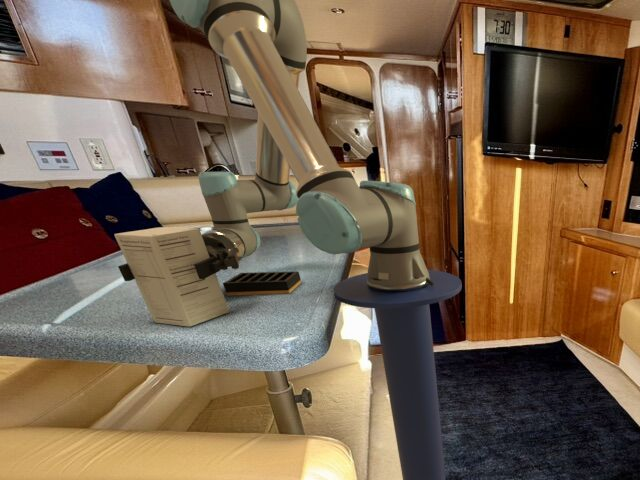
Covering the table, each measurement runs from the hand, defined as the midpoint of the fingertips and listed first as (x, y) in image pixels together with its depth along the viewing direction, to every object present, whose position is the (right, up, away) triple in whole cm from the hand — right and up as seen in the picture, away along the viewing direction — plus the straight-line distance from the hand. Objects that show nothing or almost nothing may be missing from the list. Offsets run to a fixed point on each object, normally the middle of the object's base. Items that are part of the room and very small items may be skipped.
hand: (161, 272), depth 73 cm
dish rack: (+3, +3, +26) cm, 26 cm away
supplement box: (-1, -7, +8) cm, 11 cm away
